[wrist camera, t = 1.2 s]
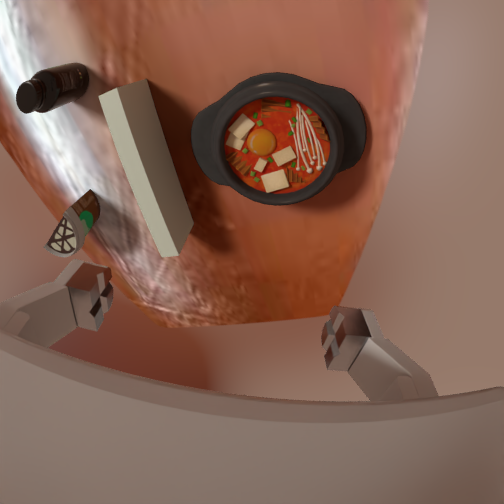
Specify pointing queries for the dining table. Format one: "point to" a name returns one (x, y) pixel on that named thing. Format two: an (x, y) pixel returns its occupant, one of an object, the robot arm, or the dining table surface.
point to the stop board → (148, 164)
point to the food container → (74, 226)
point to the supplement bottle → (52, 88)
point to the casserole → (279, 137)
